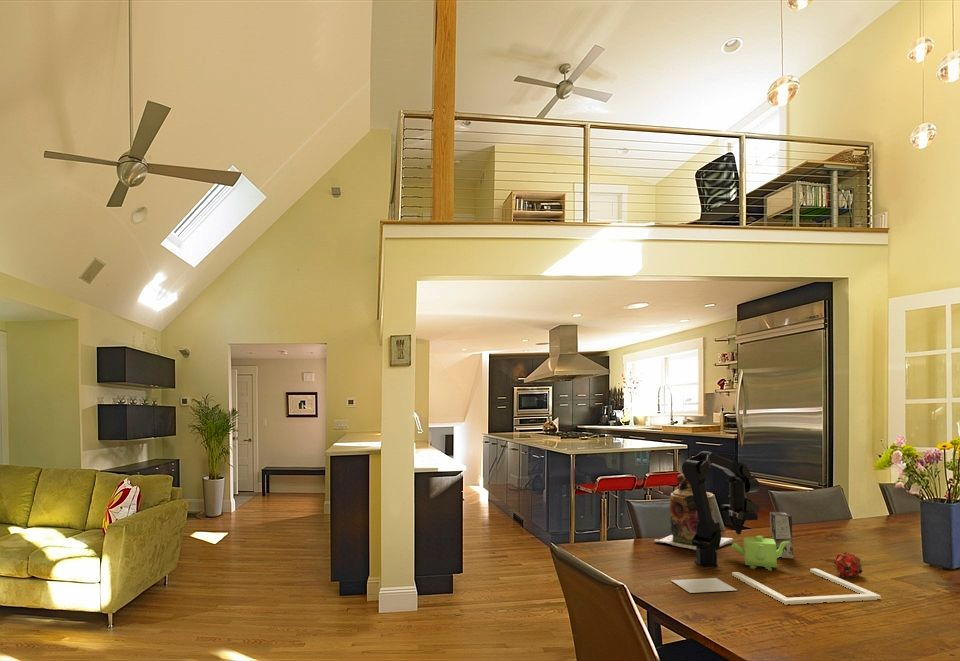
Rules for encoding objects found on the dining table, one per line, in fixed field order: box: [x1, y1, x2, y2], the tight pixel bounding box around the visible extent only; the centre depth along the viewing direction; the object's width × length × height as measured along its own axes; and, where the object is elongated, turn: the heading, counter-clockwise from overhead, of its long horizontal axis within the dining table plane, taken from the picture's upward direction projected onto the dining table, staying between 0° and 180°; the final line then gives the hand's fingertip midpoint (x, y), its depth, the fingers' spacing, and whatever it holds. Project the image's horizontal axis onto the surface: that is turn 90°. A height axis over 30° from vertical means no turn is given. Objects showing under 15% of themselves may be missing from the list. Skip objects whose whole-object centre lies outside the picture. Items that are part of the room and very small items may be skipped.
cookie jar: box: [653, 471, 734, 551], centre depth 284 cm, size 25×25×32 cm
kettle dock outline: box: [731, 567, 882, 606], centre depth 222 cm, size 32×31×1 cm
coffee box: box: [769, 511, 794, 559], centre depth 264 cm, size 9×6×16 cm
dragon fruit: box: [833, 551, 863, 578], centre depth 235 cm, size 8×8×12 cm
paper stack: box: [670, 577, 738, 594], centre depth 218 cm, size 23×25×1 cm
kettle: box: [731, 535, 789, 571], centre depth 247 cm, size 15×14×11 cm
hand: (738, 534), depth 261 cm, fingers closed
